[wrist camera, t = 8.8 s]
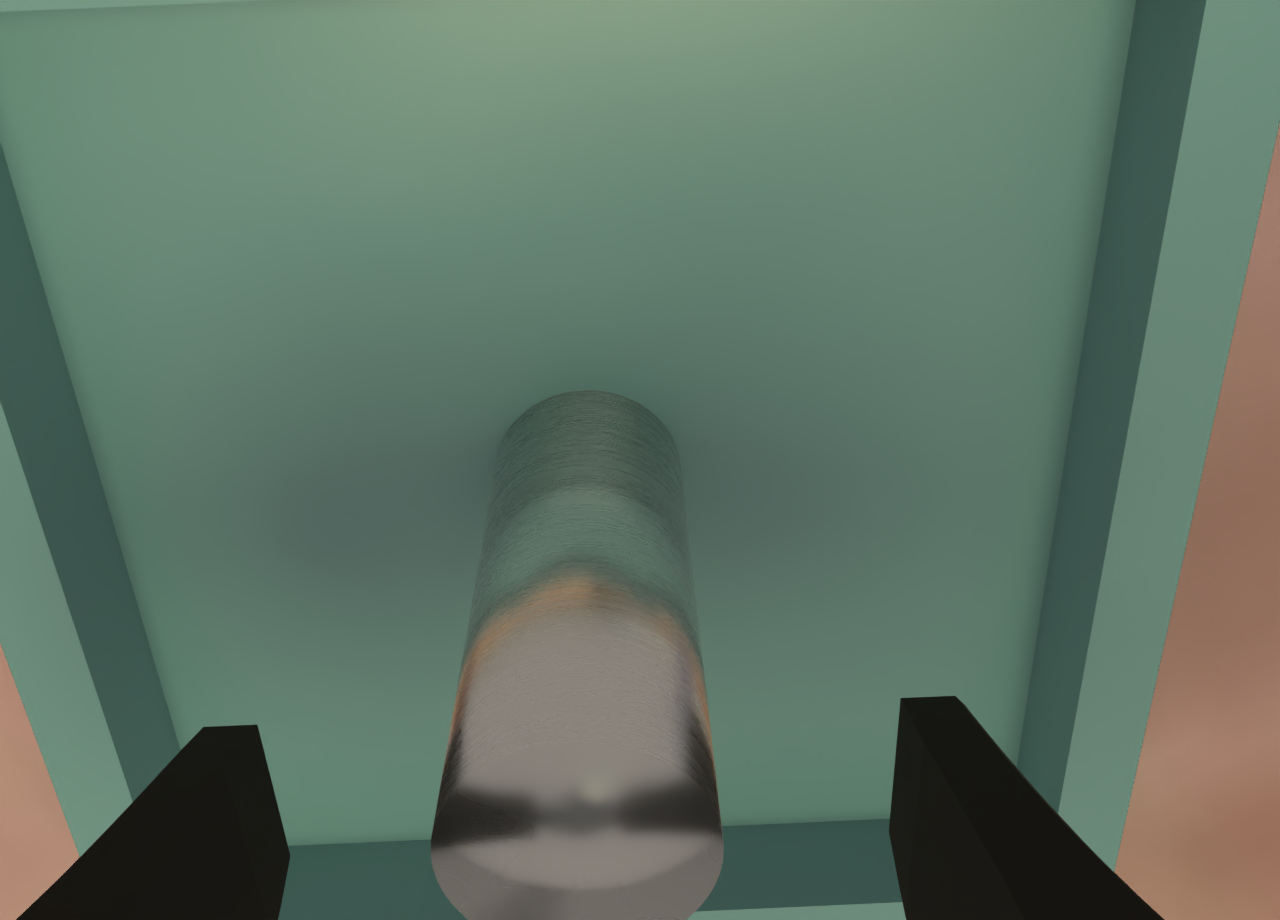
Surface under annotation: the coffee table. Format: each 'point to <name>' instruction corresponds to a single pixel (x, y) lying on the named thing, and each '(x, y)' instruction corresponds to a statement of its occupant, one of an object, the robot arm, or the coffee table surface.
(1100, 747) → the tray
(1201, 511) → the coffee table surface
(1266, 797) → the coffee table surface
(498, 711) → the pin
